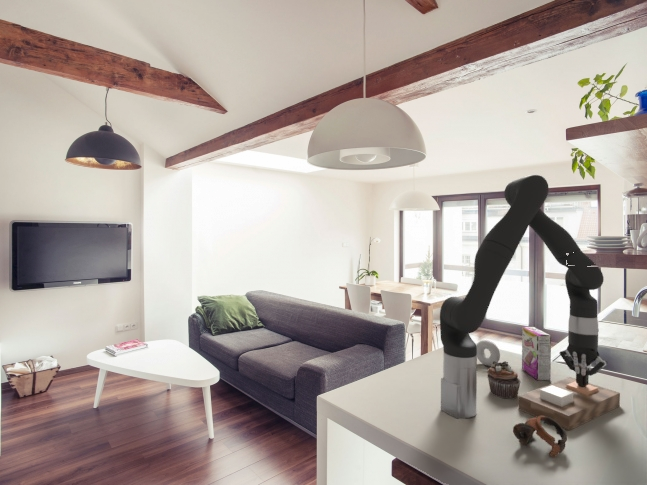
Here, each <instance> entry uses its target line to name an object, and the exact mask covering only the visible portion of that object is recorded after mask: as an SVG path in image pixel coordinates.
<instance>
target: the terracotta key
mask: <svg viewBox="0 0 647 485" xmlns="http://www.w3.org/2000/svg"><path fill="white" fill-rule="evenodd" d="M566 388H567V389H570V390H573V391H576V392H579V393H582V394H585V395H588V396H589V395H591V394H594V393H596V392H598V387H595V386H591V385H587V386H586V387H581V386H578V384H577V383H576V381H575V382H572V383H570V384H567V385H566Z"/></svg>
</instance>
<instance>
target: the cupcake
mask: <svg viewBox="0 0 647 485" xmlns="http://www.w3.org/2000/svg"><path fill="white" fill-rule="evenodd" d="M486 378H487V381H488V385H489V390H490V392H491V394H493V396H495V397H498V398H502V399H508V400H509V399H510V400H511V399H512V400H513V399H516V398H517V397H518V396H519V395H518V394H519V390H520V386H521V384H522V383H521V380H520V379H519V374H518V373H517V371H516V370H515V369H513V368H512V367H511V366H510V365H509V362H508V361H503V362H498V363H497V362H495V361H493V363H492V364H491V366H489V367H488V369H487V377H486Z"/></svg>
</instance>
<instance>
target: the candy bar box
mask: <svg viewBox="0 0 647 485" xmlns="http://www.w3.org/2000/svg"><path fill="white" fill-rule="evenodd" d="M551 339H552V335H551V334H549V333H548V332H545V331H543V330H541V329H539V328H538V327H536V326H522V327H521V369H522V370H523V371H525V372H526V373H527V374H528V375H530V376H531V377H532V378H534V379H535V380H537V381H541V382H542V381H551V372H552V371H551V370H552V369H551V360H552V359H551V357H552V355H551V354H552V352H551V351H552V349H551V348H552V345H551V344H552V340H551Z"/></svg>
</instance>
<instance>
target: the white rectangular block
mask: <svg viewBox="0 0 647 485" xmlns="http://www.w3.org/2000/svg"><path fill="white" fill-rule="evenodd" d="M540 399H543V400H546V401H548V402H551V403H553V404H556V405H558V406H561V407H563V406H565V405H568V404H570V403H572V402H573V392H570V391H567V390H564V389H561V388H558V387H556V386H553V385H551V386H548V387H546V388H543V389H540Z"/></svg>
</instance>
